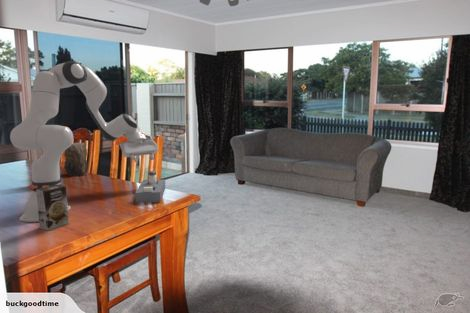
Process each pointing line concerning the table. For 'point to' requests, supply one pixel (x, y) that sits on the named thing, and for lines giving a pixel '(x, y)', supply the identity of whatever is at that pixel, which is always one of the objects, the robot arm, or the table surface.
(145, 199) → the socket block
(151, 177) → the plug
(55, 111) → the robot arm
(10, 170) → the table surface
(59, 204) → the coffee box
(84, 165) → the owl
